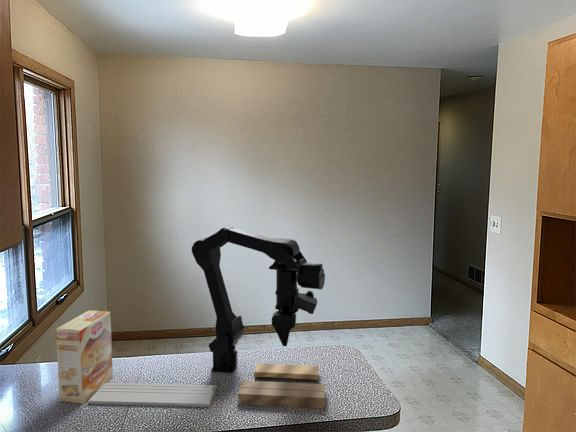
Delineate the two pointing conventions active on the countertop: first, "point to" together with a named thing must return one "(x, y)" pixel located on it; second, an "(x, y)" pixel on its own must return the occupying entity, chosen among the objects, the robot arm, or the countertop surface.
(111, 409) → the countertop surface
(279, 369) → the plank
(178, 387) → the baseboard molding
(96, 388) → the coffeecake box
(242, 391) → the floor board
